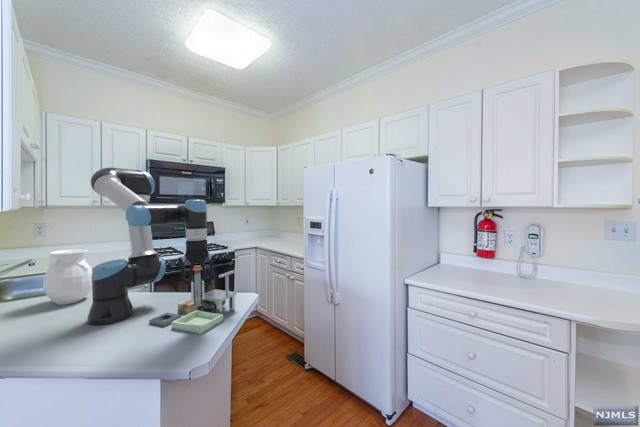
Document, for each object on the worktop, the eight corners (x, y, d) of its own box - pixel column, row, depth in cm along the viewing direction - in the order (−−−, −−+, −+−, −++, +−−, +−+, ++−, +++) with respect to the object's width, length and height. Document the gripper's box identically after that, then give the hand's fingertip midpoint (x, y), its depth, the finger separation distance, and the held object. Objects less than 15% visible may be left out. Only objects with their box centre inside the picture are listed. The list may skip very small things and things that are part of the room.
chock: (177, 313, 116) (177, 304, 116) (185, 308, 121) (185, 300, 121) (190, 314, 115) (190, 305, 115) (197, 309, 120) (197, 300, 119)
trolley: (198, 314, 114) (197, 273, 114) (215, 305, 124) (214, 268, 123) (220, 318, 110) (219, 275, 109) (236, 308, 120) (235, 270, 119)
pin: (189, 306, 102) (188, 267, 102) (198, 302, 106) (197, 265, 106) (198, 308, 101) (197, 268, 100) (206, 303, 105) (206, 265, 105)
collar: (149, 323, 105) (149, 320, 105) (167, 315, 112) (167, 312, 112) (164, 327, 102) (164, 323, 102) (181, 318, 110) (181, 315, 110)
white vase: (71, 308, 121) (69, 254, 121) (31, 308, 122) (29, 254, 121) (104, 294, 140) (103, 247, 139) (70, 294, 140) (68, 247, 140)
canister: (219, 299, 132) (218, 263, 132) (201, 305, 124) (200, 267, 124) (207, 295, 137) (206, 261, 137) (189, 301, 129) (189, 264, 129)
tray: (171, 328, 101) (171, 321, 101) (196, 316, 112) (196, 310, 112) (200, 334, 96) (200, 327, 96) (223, 321, 107) (223, 314, 107)
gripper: (172, 241, 96) (173, 305, 97) (219, 239, 103) (220, 298, 104) (173, 239, 103) (175, 299, 104) (218, 237, 110) (219, 293, 110)
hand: (198, 298), depth 104 cm, fingers closed on pin, 3 cm apart
